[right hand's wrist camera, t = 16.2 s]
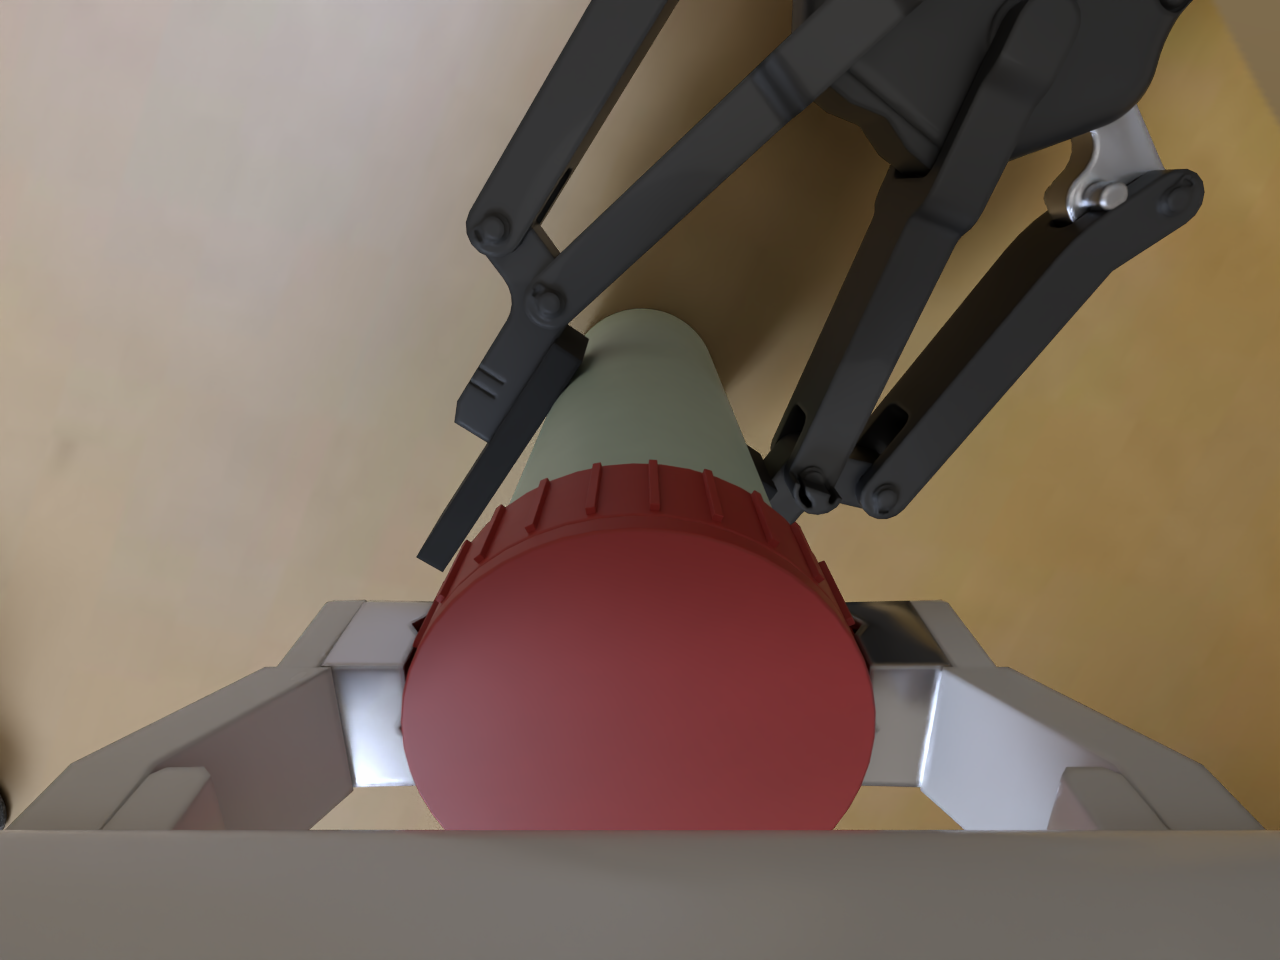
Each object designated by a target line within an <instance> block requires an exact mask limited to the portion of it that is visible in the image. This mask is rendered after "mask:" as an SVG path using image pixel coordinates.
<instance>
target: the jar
mask: <svg viewBox="0 0 1280 960" xmlns="http://www.w3.org/2000/svg"><path fill="white" fill-rule="evenodd" d="M584 336H585V337H587V338H588V339H589V342H588V345H587V348H586V351H585V355H584V358H583V361H582V363H581V365H580V366H579V368H578V369H577V371H576V372H575V374H574V375H573V377H572V378H571V380H570V381H569V383H568V384H567V386H566V387H565V389H564V390H563V392H562V393H561V395H560V396H559V397H558V399H557V400H556V402H555V403H554V405H553V406H552V408H551V410H550V411H549V413H548V415H547V417H546V419H545V422H544V424H543V426H542V429H541V431H540V433H539V436H538V438H537V440H536V443H535V445H534V448H533V450H532V452H531V455H530V457H529V459H528V462H527V464H526V466H525V469H524V471H523V473H522V476H521V478H520V480H519V483H518V485H517V487H516V490H515V492H514V494H513V497H512V499H511V501H510V504H511V503H512V502H514V501H515V500H517V499H518V498H520V497H521V496H523V495H524V494H526V493H527V492H529V491H531V490H533V489H535V488H537V487H538V486H539V483H540V481H541V480H543V479H545V478H548V479H549V481H551V480H554V479H557V478H560V477H563V476H566V475H569V474H572V473H574V472H577V471H582V470H587V469H591V468H592V466H593V464H594V463H599V462H601V465H602V466H607V465H619V464H631V463H639V464H649V460H657V462H658V464H662V465H669V466H675V467H681V468H687V469H691V470H695V471H698V472H702V473H703V471H704V469H708V470H711V471H712V473H713V476H715V477H718V478H720V479H722V480H725V481H727V482H729V483H731V484H734V485H736V486H738V487H741V488H742V489H744V490H746V491H747V492H749V493H751V494H752V492H753V491H754V490H755V491H757V492H759V493H760V494H761V496H762V498H763V501H764V502H765V503H766V504H768V505H769V506H770V507H771V504H770V502H769V499H768V497H767V494H766V492H765V489H764V487H763V485H762V482H761V480H760V477H759V475H758V472H757V470H756V467H755V465H754V462H753V460H752V457H751V455H750V452H749V450H748V447H747V445H746V443H745V440H744V438H743V435H742V433H741V430H740V428H739V425H738V423H737V420H736V418H735V415H734V413H733V410H732V408H731V406H730V403H729V401H728V398H727V396H726V393H725V391H724V388H723V386H722V383H721V381H720V378H719V376H718V373H717V371H716V369H715V366H714V364H713V361H712V359H711V356H710V354H709V351H708V349H707V347H706V345H705V344H704V342H703V340H702V339H701V338H700V337H699V335H698V334H697V333H696V332H695V331H694V330H693V329H692V328H691V327H690V326H689V325H688V324H686V323H685V322H684V321H682V320H680V319H679V318H677V317H675V316H673V315H671V314H668V313H666V312H662V311H658V310H654V309H630V310H624V311H621V312H618V313H615V314H613V315H610V316H608V317H606V318H605V319H603V320H601V321H600V322H598V323H597V324H596V325H595V326H593V327H592V328H591V329H590V330H589V331H588V332H587V333H586V334H585V335H584ZM510 504H509V505H510ZM771 508H772V507H771Z"/></svg>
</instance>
